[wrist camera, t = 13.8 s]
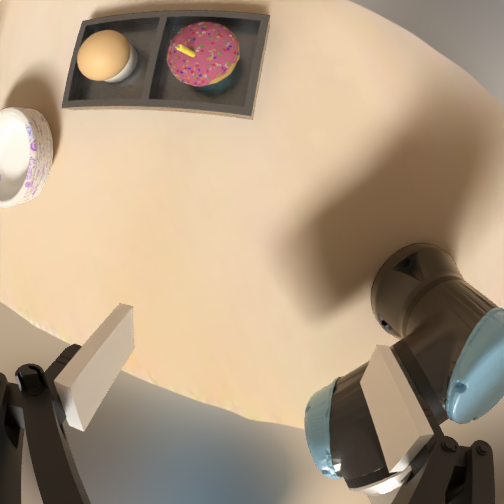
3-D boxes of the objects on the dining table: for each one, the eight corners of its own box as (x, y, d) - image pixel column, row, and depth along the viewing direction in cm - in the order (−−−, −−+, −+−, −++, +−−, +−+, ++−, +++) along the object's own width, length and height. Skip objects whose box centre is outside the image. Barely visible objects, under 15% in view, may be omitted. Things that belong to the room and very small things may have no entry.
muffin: (145, 39, 32) (121, 19, 25) (134, 85, 34) (107, 73, 27) (102, 42, 32) (74, 27, 25) (92, 86, 34) (61, 77, 27)
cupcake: (223, 102, 35) (205, 80, 23) (166, 80, 34) (128, 56, 23) (253, 48, 32) (248, 7, 21) (196, 28, 32) (170, -13, 20)
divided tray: (269, 26, 32) (269, 15, 29) (252, 119, 36) (251, 116, 33) (93, 27, 32) (82, 21, 28) (74, 110, 36) (61, 108, 33)
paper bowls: (76, 175, 39) (44, 181, 32) (20, 212, 41) (-10, 222, 34) (53, 91, 35) (22, 86, 28) (0, 137, 37) (-30, 139, 30)
